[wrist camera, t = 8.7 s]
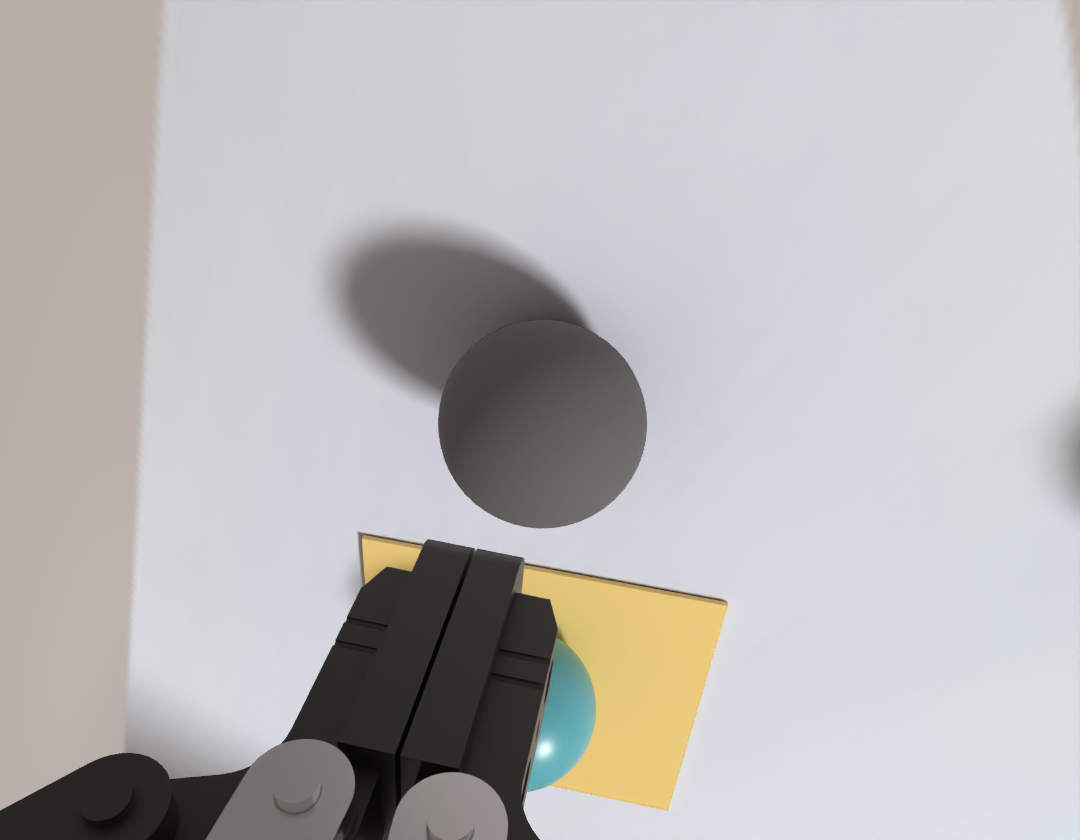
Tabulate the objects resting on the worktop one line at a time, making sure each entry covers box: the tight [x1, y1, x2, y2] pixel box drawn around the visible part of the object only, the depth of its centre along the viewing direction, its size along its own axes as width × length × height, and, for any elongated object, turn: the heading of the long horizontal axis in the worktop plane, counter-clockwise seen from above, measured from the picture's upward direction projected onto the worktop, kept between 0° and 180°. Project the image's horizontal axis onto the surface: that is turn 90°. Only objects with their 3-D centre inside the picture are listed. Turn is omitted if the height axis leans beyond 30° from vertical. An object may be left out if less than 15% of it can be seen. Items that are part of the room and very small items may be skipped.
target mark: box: [362, 535, 728, 811], centre depth 37 cm, size 14×14×1 cm
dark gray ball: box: [438, 320, 647, 528], centre depth 25 cm, size 6×6×6 cm
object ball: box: [527, 638, 596, 792], centre depth 33 cm, size 6×6×6 cm
